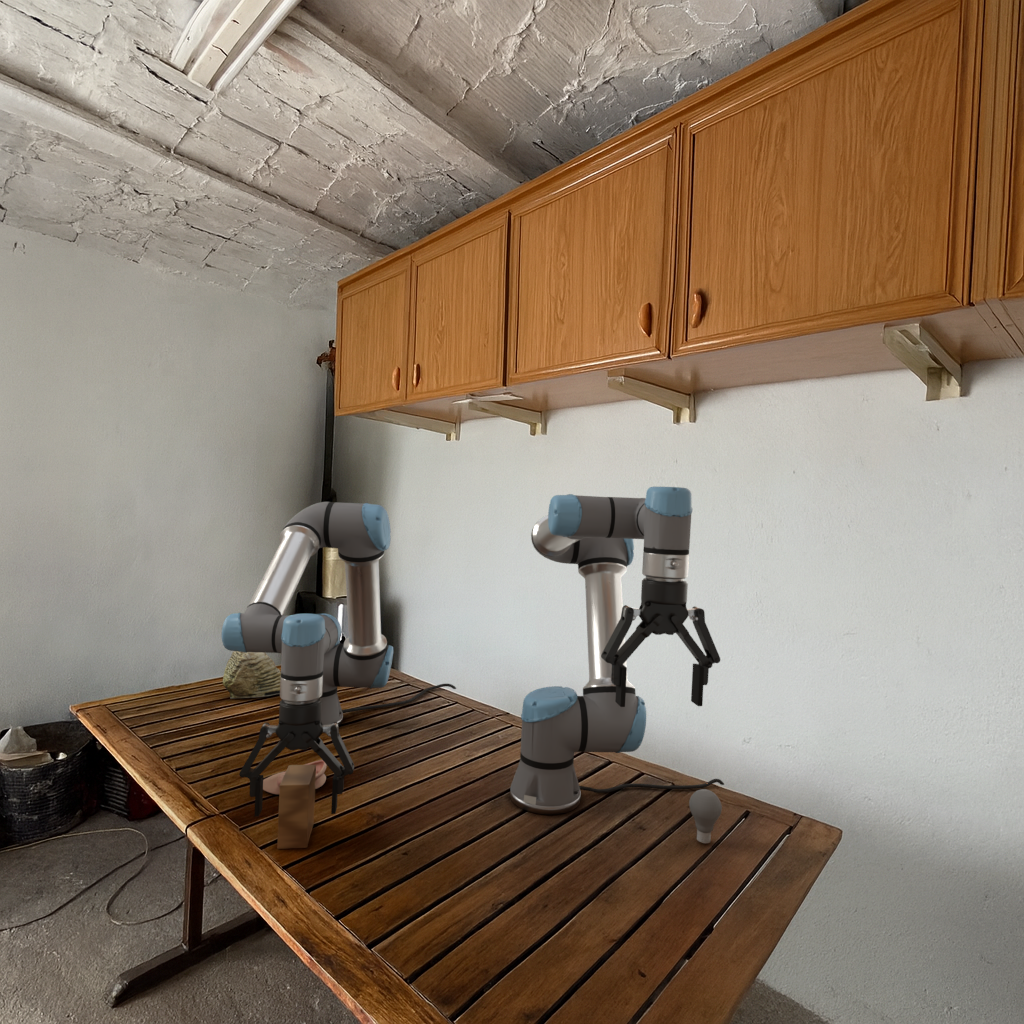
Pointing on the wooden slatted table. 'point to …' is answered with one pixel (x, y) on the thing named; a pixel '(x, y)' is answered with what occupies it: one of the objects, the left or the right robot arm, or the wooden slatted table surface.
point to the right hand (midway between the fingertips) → (658, 704)
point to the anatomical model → (275, 780)
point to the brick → (296, 806)
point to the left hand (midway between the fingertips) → (296, 811)
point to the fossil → (251, 675)
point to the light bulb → (705, 812)
